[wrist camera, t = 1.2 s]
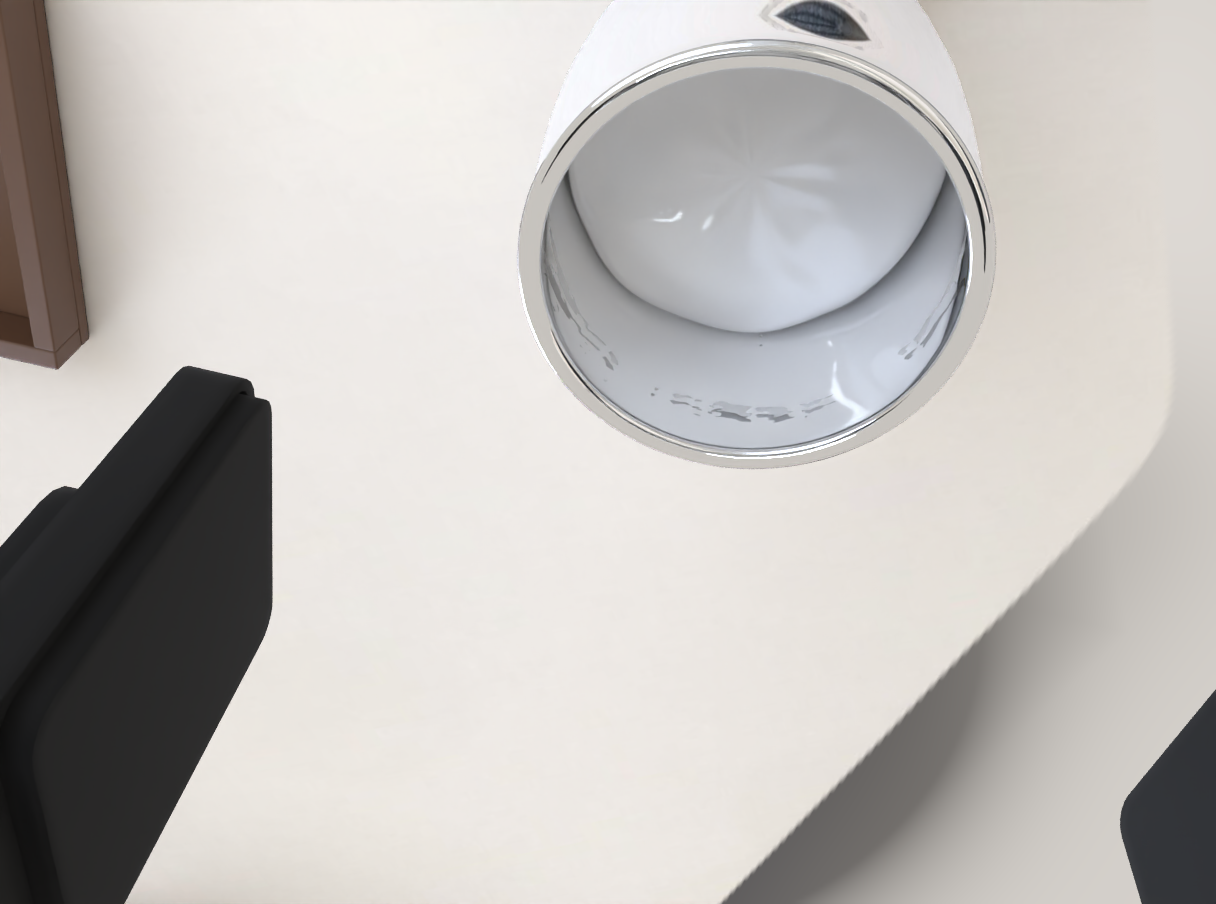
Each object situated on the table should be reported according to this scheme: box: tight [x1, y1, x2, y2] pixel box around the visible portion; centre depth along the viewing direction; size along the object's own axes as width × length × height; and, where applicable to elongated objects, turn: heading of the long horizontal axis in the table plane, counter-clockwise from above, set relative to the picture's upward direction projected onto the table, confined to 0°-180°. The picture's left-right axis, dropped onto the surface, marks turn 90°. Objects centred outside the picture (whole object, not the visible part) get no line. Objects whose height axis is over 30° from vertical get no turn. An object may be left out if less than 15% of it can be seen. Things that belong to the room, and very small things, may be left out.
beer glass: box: [517, 0, 996, 469], centre depth 21 cm, size 7×7×15 cm
